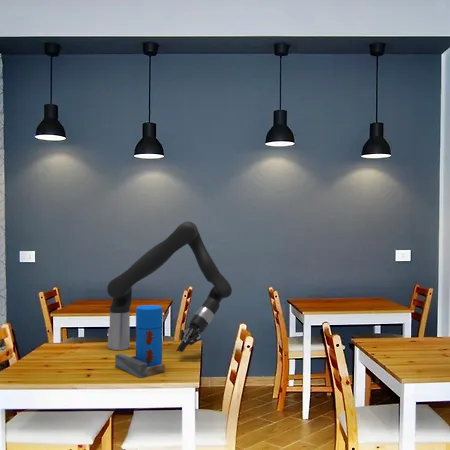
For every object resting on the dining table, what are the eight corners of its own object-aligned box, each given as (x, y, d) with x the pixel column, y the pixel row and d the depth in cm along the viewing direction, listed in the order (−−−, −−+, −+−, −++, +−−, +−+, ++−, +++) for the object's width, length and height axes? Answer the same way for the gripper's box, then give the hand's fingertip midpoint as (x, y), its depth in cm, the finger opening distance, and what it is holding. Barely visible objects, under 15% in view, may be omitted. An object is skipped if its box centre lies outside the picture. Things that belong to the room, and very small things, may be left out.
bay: (139, 362, 229) (139, 350, 228) (164, 372, 214) (164, 359, 214) (115, 366, 221) (115, 354, 221) (140, 377, 207) (140, 365, 207)
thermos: (136, 371, 214) (136, 309, 214) (134, 364, 225) (135, 305, 224) (163, 370, 217) (163, 309, 216) (160, 363, 227) (161, 304, 227)
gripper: (188, 311, 242) (165, 342, 234) (206, 316, 232) (183, 348, 224) (197, 321, 245) (175, 352, 238) (215, 326, 235) (193, 359, 228)
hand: (179, 350), depth 231 cm, fingers closed
